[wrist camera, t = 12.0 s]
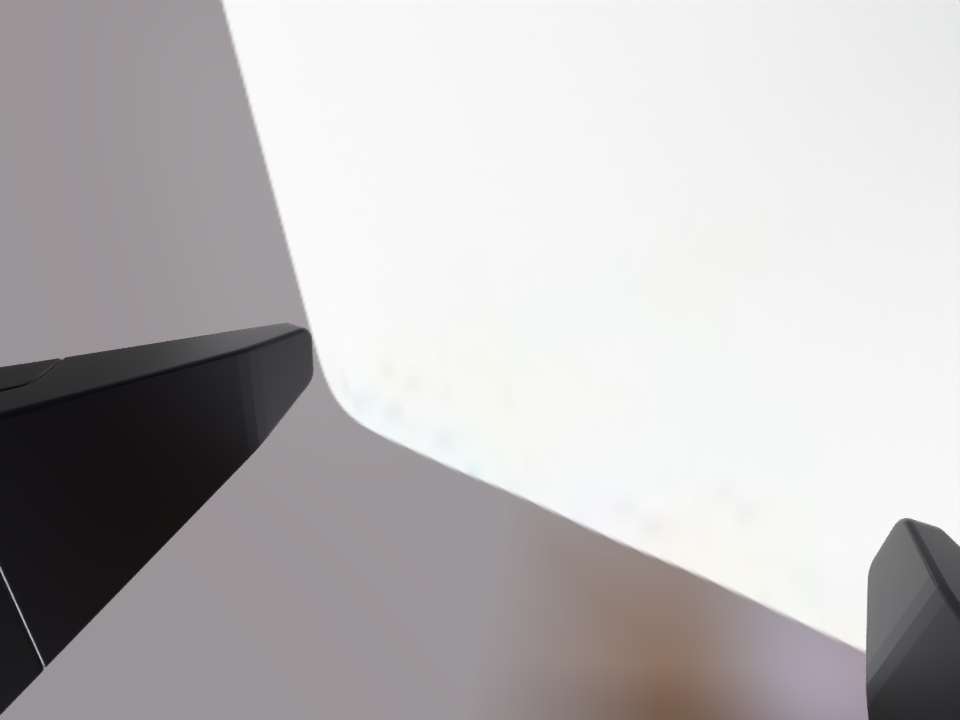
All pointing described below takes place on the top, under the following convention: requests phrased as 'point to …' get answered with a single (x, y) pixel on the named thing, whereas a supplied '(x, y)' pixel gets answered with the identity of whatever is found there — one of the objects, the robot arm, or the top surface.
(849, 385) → the top surface
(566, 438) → the top surface
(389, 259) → the top surface
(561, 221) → the top surface
